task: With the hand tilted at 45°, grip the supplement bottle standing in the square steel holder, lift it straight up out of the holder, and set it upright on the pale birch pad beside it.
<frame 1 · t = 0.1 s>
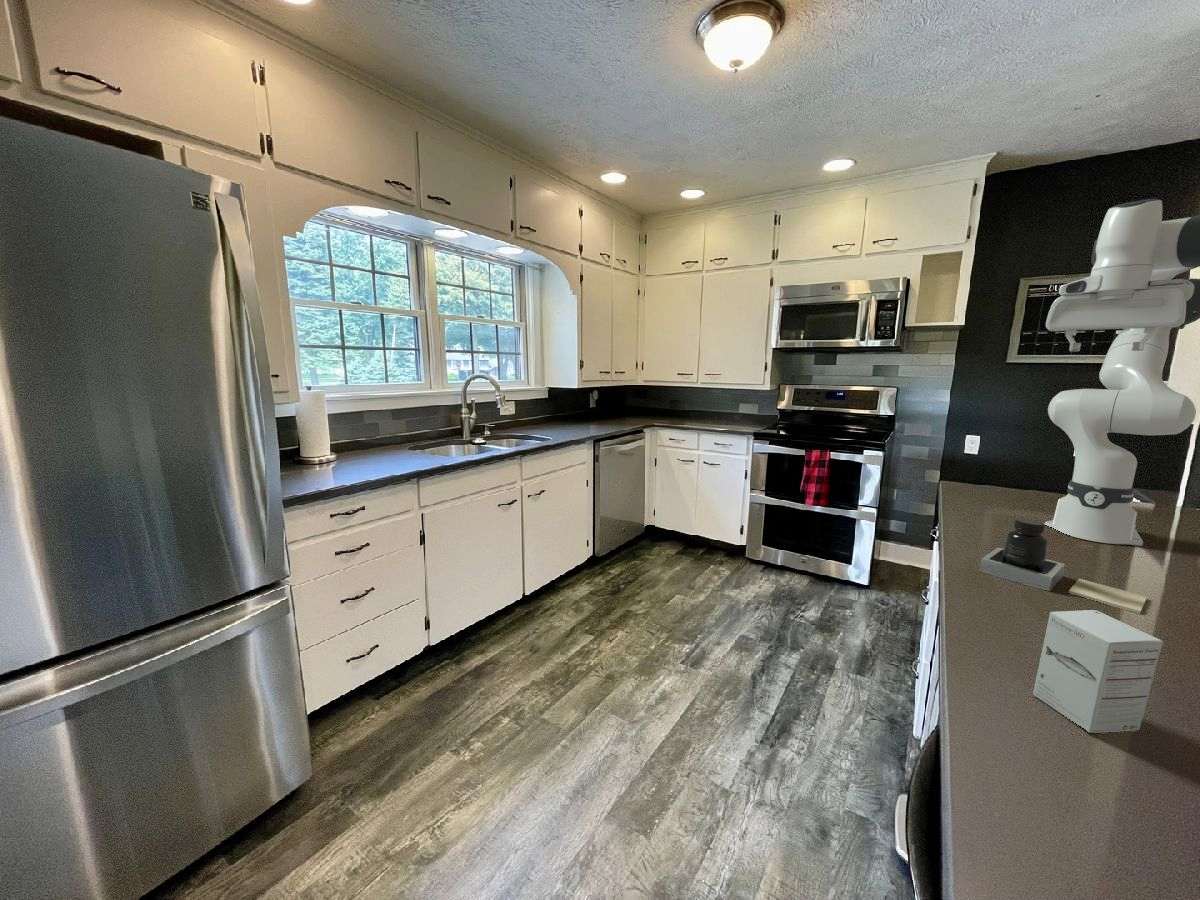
hand: (1104, 351, 102), 48 cm above the countertop, tool pointing down, fingers open, 8 cm apart
steel holder: (1020, 574, 104), on the countertop
supplement box: (1083, 714, 62), on the countertop
birch pad: (1107, 596, 94), on the countertop
supplement bottle: (1020, 575, 104), resting in steel holder
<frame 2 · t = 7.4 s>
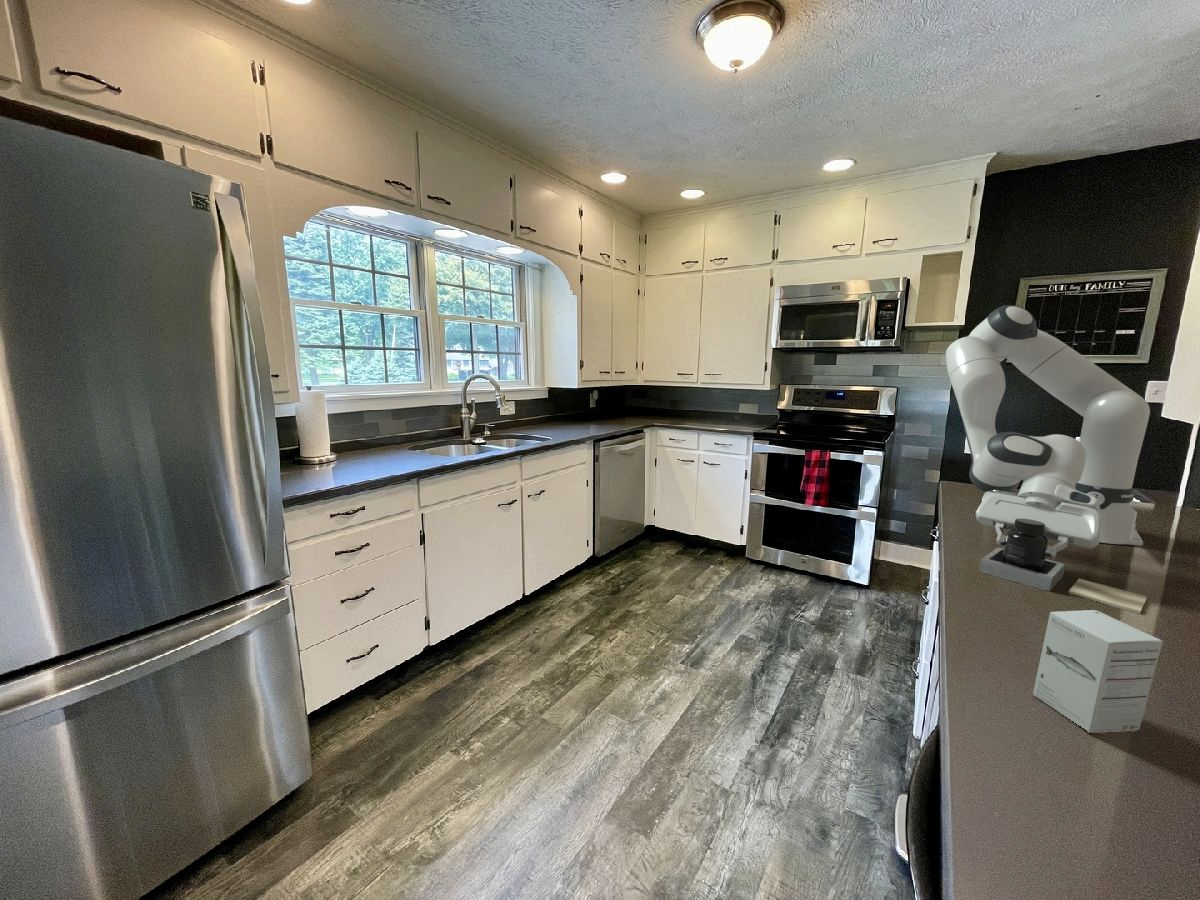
hand: (1024, 549, 102), 6 cm above the countertop, tool tilted 45°, fingers closed on supplement bottle, 7 cm apart
supplement bottle: (1020, 575, 104), resting in steel holder, touching gripper
everything else where it was.
when the fingers open (8 cm above the countertop, at t = 18.0 s): supplement bottle drops 1 cm, resting on birch pad.
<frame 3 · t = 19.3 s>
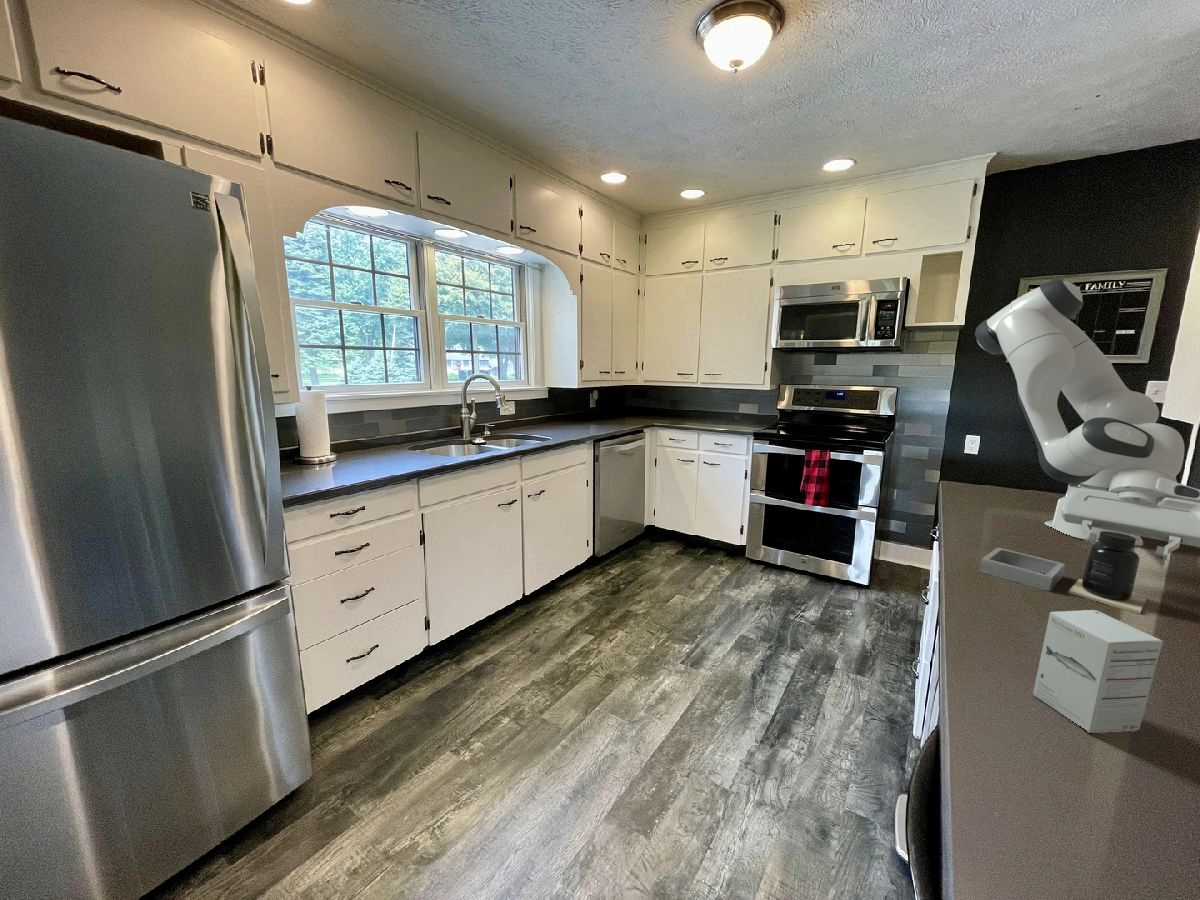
hand: (1123, 549, 93), 10 cm above the countertop, tool tilted 45°, fingers open, 8 cm apart
supplement bottle: (1104, 593, 94), resting on birch pad
everything else where it was.
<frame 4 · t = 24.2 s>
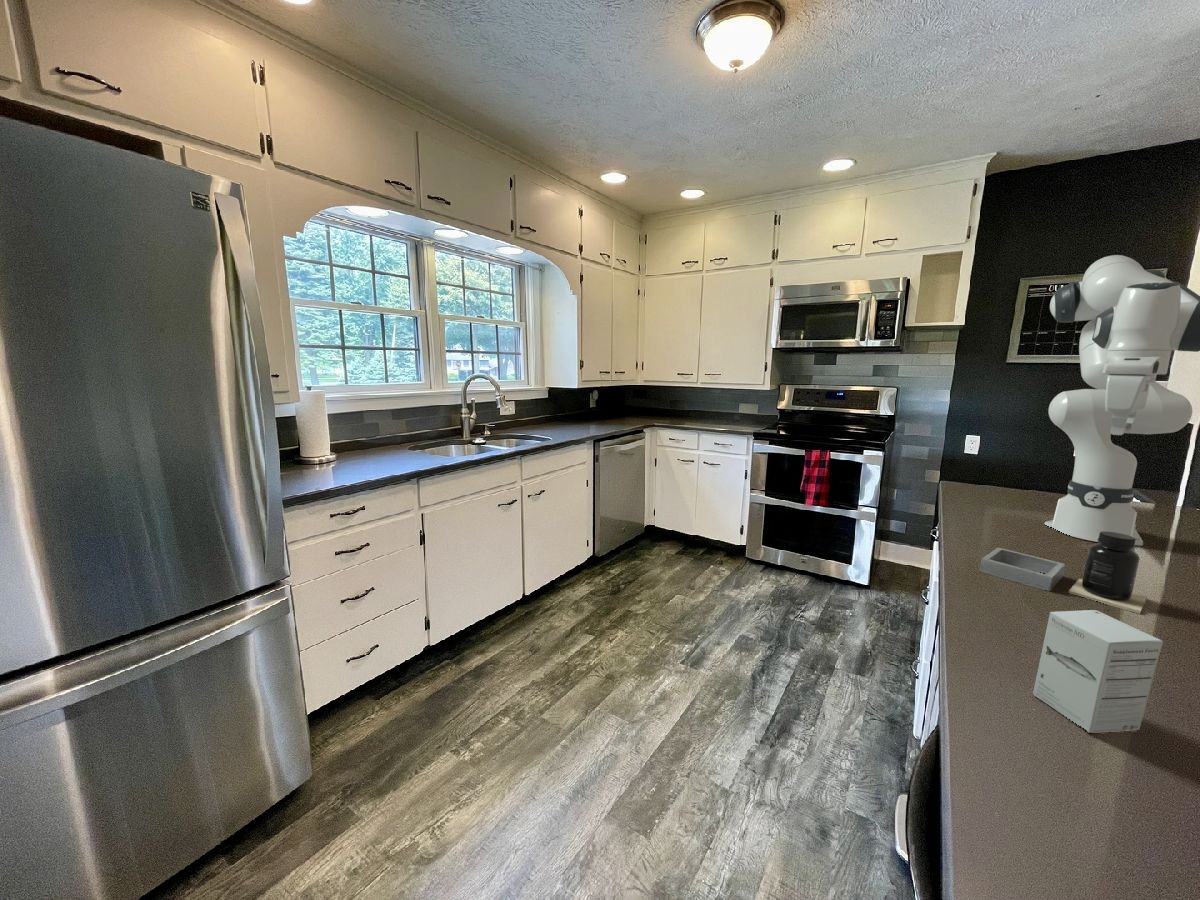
hand: (1120, 432, 99), 31 cm above the countertop, tool pointing down, fingers open, 8 cm apart
nothing on the countertop moved.
at the end: supplement bottle 0.3 cm off-centre on the birch pad, point 0.4 cm above the birch pad's base; supplement bottle tilted 0°; the gripper is holding nothing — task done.
